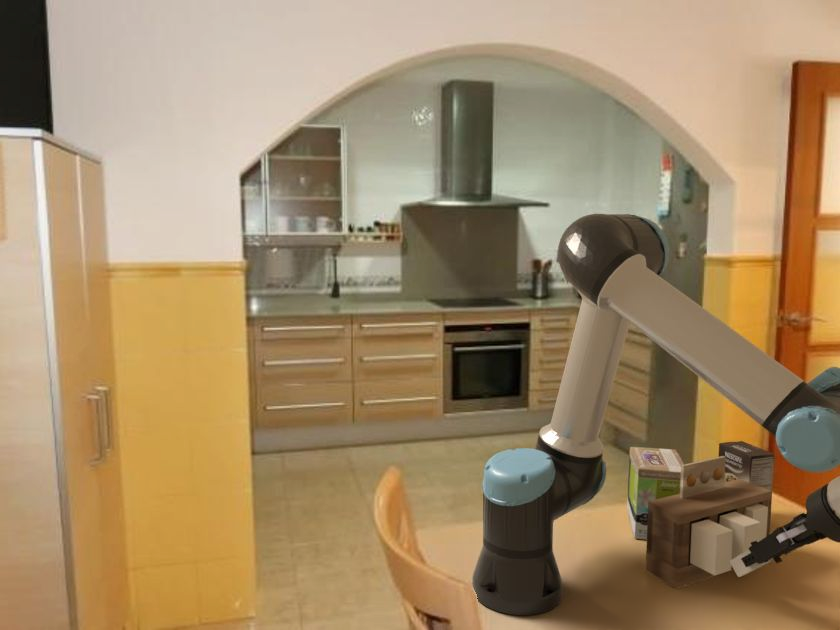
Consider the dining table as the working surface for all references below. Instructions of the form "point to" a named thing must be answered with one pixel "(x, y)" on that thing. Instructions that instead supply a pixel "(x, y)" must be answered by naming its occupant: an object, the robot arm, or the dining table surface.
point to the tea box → (650, 482)
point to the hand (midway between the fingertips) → (736, 568)
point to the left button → (711, 547)
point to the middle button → (741, 531)
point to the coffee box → (747, 463)
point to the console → (694, 518)
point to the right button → (758, 516)
